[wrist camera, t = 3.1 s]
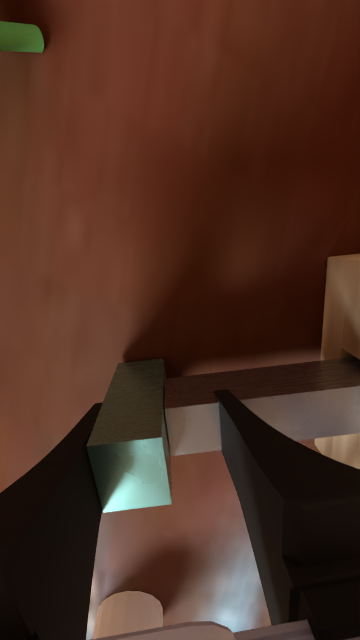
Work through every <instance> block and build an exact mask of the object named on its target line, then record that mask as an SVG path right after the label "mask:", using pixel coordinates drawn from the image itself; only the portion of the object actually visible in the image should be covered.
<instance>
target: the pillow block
mask: <svg viewBox="0 0 360 640" xmlns="http://www.w3.org/2000/svg"><path fill="white" fill-rule="evenodd" d="M348 357H357V358H358V359H360V254H351V255H342V256H333V257H328V260H327V275H326V289H325V303H324V318H323V332H322V347H321V361H322V360H331V359H339V358H348ZM315 445H316V446H317V448H318V449H319V450H320V452H321V453H322V455H325V456H327V457H329V458H332V459H334V460H336V461H339V462H341V463H344V464H347V465H349V466H352V467H355V468H358V469H360V433H357V434H349V435H341V436H332V437H324V438H316V439H315Z"/></svg>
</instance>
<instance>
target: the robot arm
mask: <svg viewBox="0 0 360 640" xmlns="http://www.w3.org/2000/svg"><path fill="white" fill-rule="evenodd" d="M214 394H215V396H216V399H217V401H218V403H219V416H220V431H221V446H222V450H221V451H222V453H223V456H224V459H225V462H226V464H227V467H228V470H229V472H230V475H231V478H232V480H233V483H234V486H235V489H236V491H237V494H238V497H239V500H240V504H241V507H242V511H243V515H244V518H245V522H246V526H247V529H248V533H249V537H250V541H251V545H252V548H253V552H254V556H255V560H256V564H257V568H258V572H259V576H260V580H261V584H262V588H263V592H264V596H265V600H266V604H267V608H268V612H269V616H270V620H271V624H272V626H268V627H262V628H257V629H251V630H246V631H240V632H235V633H233V632H232V631H231V630H230V629H229V628H228V627H225V626H223V625H220V624H217V623H215V622H212V621H206V622H187V623H181V624H175V625H170V626H164V627H158V628H153V629H147V630H141V631H136V632H130V633H125V634H119V635H113V636H108V637H102V638H96V639H91V640H360V469H358V468H355V467H352V466H349V465H347V464H344V463H341V462H339V461H336V460H334V459H332V458H329V457H327V456H325V455H322V454H320V453H318V452H316V451H314V450H312V449H310V448H308V447H306V446H304V445H302V444H300V443H298V442H296V441H294V440H293V439H291V438H289V437H287V436H286V435H284V434H283V433H281V432H279V431H278V430H276V429H275V428H273V427H272V426H270V425H269V424H267V423H266V422H265V421H263V420H262V419H261V418H259V417H258V416H257V415H256V414H254V413H253V412H252V411H251V410H250V409H249V408H247V407H246V406H245V405H244V404H243V403H242V402H241V401H240V400H239V399H237V398H236V397H235V396H234V395H233V394H232V393H231V392H230V391H229V390H228V389H224V390H218V391H214ZM102 404H103V403H96V404H94V405H93V406H92V408H91V409H90V410H89V411H88V412H87V413H86V414H85V416H84V417H83V418H82V419H81V420H80V421H79V422H78V424H77V425H76V426H75V427H74V428H73V429H72V430H71V431H70V432H69V433H68V435H67V436H66V437H65V438H64V439H63V440H62V441H61V442H60V443H59V444H58V445H57V446H56V447H55V448H54V449H53V450H52V451H51V452H50V453H49V454H48V455H46V456H45V457H44V458H43V459H42V460H41V461H40V462H39V463H38V464H36V465H35V466H34V467H33V468H32V469H31V470H29V471H28V472H27V473H26V474H25V475H23V476H22V477H21V478H19V479H18V480H17V481H15V482H14V483H13V484H12V485H10V486H9V487H8V488H6V489H5V490H4V491H2V492H1V493H0V640H86V633H87V622H88V613H89V604H90V595H91V586H92V577H93V569H94V561H95V553H96V546H97V539H98V532H99V525H100V519H101V514H102V510H103V509H102V505H101V502H100V498H99V494H98V490H97V486H96V482H95V479H94V475H93V471H92V467H91V463H90V459H89V455H88V452H87V448H86V445H87V443H88V440H89V438H90V435H91V432H92V430H93V427H94V425H95V422H96V420H97V417H98V414H99V412H100V409H101V407H102Z"/></svg>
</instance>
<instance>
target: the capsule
mask: <svg viewBox="0 0 360 640" xmlns="http://www.w3.org/2000/svg"><path fill="white" fill-rule="evenodd" d="M158 627H163V608H162V606H161V603H160V601H159V600H157V599H156V598H155V597H154V596H152V595H150V594H147V593H144V592H141V591H124V592H120V593H115V594H113V595H111V596H109V597H108V598H106V599H104V600H103V602H102V603H101V604H100V605H99V607H98V612H97V617H96V622H95V628H94V633H93V639H96V638H102V637H108V636H113V635H119V634H125V633H130V632H136V631H141V630H147V629H153V628H158Z"/></svg>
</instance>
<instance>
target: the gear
mask: <svg viewBox="0 0 360 640" xmlns="http://www.w3.org/2000/svg"><path fill="white" fill-rule="evenodd" d="M43 50H44V40H43V36H42V33H41V31H40V29H39V28H38V27H37V26H36V25H32V24H22V23H13V22H4V21H0V51H15V52H43Z"/></svg>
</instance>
